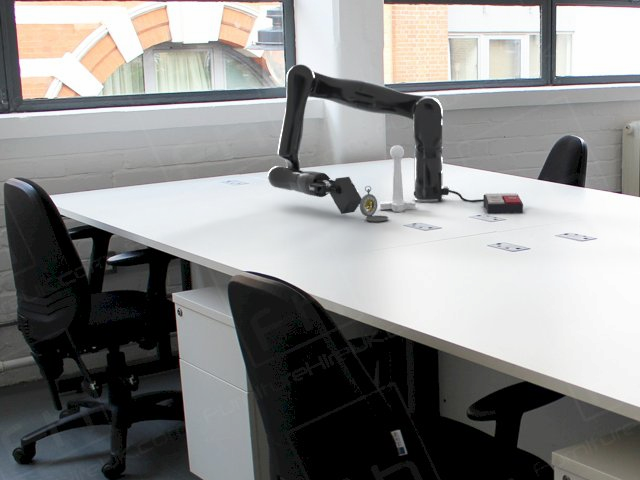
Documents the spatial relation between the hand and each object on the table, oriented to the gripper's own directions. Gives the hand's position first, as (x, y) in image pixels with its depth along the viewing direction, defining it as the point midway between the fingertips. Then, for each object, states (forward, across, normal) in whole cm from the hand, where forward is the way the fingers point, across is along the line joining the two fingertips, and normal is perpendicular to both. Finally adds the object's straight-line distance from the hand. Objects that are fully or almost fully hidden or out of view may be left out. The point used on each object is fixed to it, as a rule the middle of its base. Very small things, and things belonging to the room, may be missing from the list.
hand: (346, 189), depth 321 cm
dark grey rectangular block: (+2, 0, +5) cm, 6 cm away
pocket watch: (+10, +2, +8) cm, 14 cm away
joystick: (+2, +19, +8) cm, 21 cm away
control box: (+24, +43, +8) cm, 50 cm away
